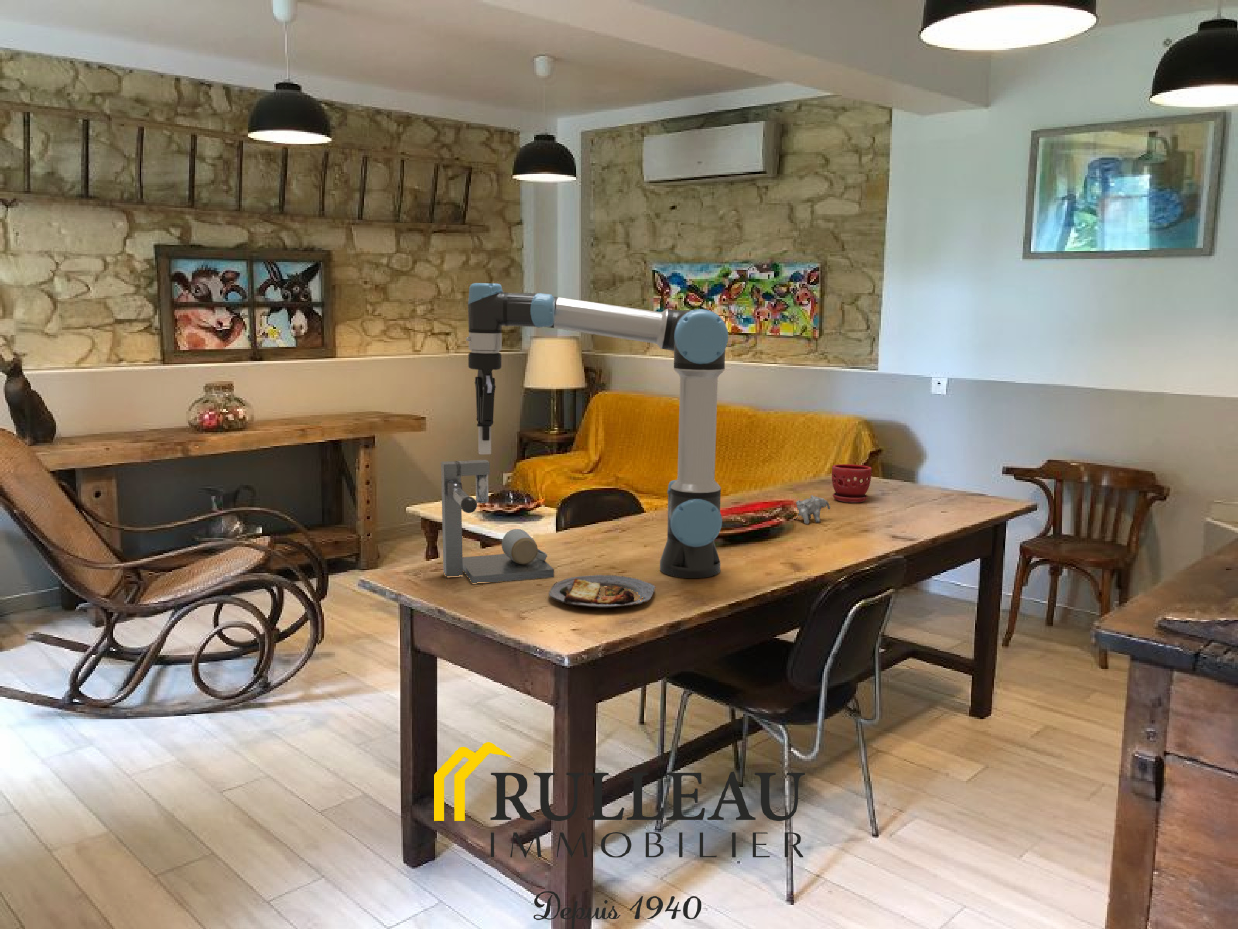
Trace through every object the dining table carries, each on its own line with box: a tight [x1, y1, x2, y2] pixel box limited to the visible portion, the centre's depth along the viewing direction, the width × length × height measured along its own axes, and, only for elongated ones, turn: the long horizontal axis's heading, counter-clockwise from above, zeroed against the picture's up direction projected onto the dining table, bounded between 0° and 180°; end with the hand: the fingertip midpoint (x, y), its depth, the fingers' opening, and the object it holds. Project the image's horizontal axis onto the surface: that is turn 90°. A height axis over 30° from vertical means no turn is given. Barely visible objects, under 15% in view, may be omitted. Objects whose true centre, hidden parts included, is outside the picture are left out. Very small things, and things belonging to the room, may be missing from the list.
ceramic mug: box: [501, 528, 548, 565], centre depth 242 cm, size 11×8×8 cm
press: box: [440, 459, 555, 584], centre depth 238 cm, size 18×25×28 cm
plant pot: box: [831, 463, 872, 504], centre depth 330 cm, size 13×13×12 cm
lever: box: [447, 481, 478, 514], centre depth 221 cm, size 21×4×4 cm, turn 20°
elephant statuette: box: [795, 494, 831, 525], centre depth 299 cm, size 9×12×8 cm
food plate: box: [548, 574, 657, 609], centre depth 220 cm, size 25×23×4 cm
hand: (484, 453), depth 225 cm, fingers closed
